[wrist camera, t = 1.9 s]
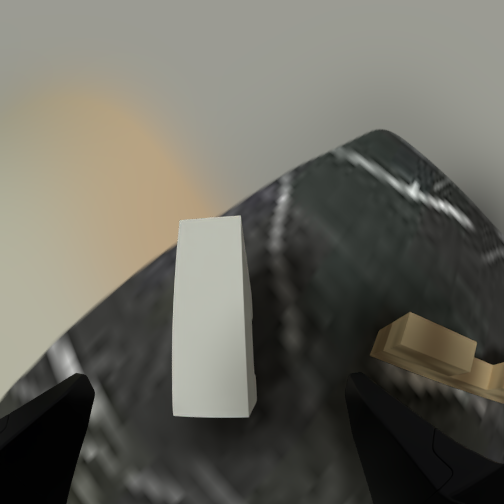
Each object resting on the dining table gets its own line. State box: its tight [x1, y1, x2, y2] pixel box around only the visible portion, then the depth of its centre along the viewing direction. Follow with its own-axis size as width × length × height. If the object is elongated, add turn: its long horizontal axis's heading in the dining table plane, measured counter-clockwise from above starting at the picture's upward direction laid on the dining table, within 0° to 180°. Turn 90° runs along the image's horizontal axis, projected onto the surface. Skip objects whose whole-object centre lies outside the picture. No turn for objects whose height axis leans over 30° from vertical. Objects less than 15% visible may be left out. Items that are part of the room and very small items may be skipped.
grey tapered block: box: [172, 216, 257, 418], centre depth 14 cm, size 8×2×10 cm, turn 3°
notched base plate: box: [370, 312, 504, 404], centre depth 14 cm, size 16×2×5 cm, turn 63°
